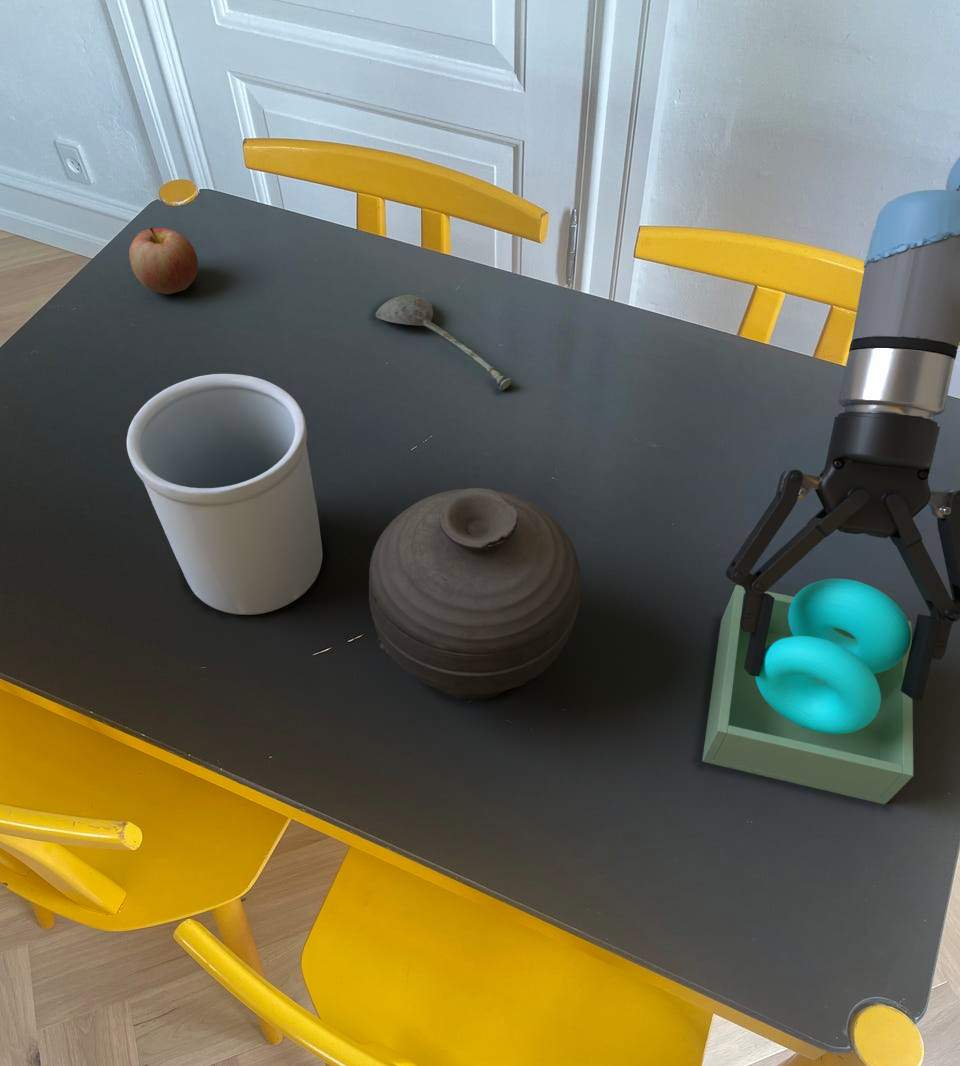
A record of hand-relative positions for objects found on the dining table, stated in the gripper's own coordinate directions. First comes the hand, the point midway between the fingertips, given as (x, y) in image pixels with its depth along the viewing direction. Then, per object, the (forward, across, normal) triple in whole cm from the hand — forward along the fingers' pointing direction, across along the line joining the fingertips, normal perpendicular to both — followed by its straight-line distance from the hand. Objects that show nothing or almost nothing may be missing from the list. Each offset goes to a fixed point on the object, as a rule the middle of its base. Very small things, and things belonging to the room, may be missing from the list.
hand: (830, 684), depth 73 cm
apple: (-31, +78, -42) cm, 94 cm away
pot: (+4, +30, -8) cm, 31 cm away
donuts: (+2, 0, -5) cm, 5 cm away
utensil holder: (-1, +54, -13) cm, 55 cm away
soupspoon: (-27, +42, -38) cm, 63 cm away
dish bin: (+4, 0, -8) cm, 8 cm away
